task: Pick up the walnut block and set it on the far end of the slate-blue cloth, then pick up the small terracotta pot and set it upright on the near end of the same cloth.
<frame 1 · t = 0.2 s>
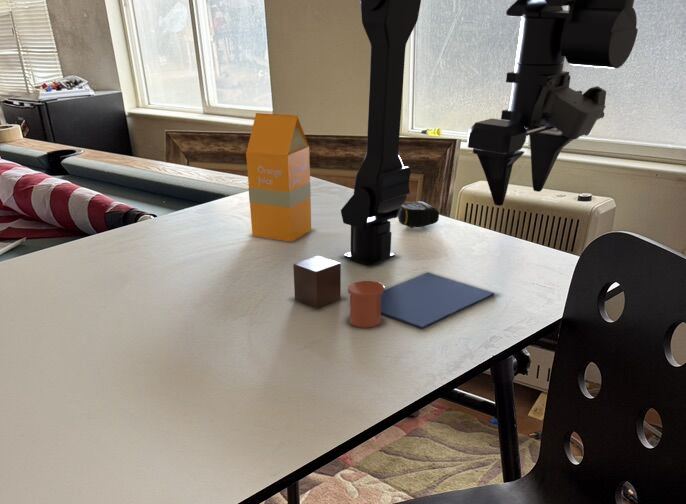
hand: (518, 197, 94), 14 cm above the table, tool pointing down, fingers open, 9 cm apart
cloth: (424, 299, 105), on the table
terracotta pot: (365, 321, 99), on the table
orange juice: (282, 234, 132), on the table
tape measure: (417, 225, 134), on the table
walnut block: (317, 299, 106), on the table
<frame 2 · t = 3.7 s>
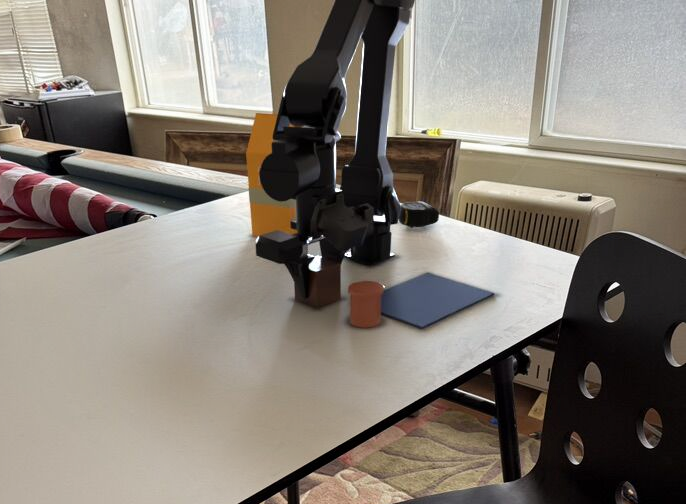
hand: (317, 292, 105), 1 cm above the table, tool pointing down, fingers closed on walnut block, 5 cm apart
walnut block: (317, 299, 106), on the table, touching gripper
everything else where it was.
when the fingers open (1 cm above the table, at t = 9.2 s): walnut block stays where it is, resting on cloth.
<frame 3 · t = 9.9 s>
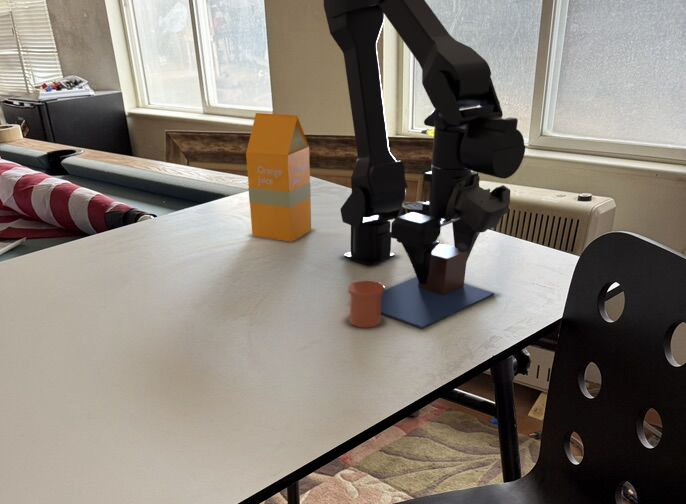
hand: (442, 275, 106), 2 cm above the table, tool pointing down, fingers open, 9 cm apart
walnut block: (440, 286, 107), resting on cloth
everything else where it was.
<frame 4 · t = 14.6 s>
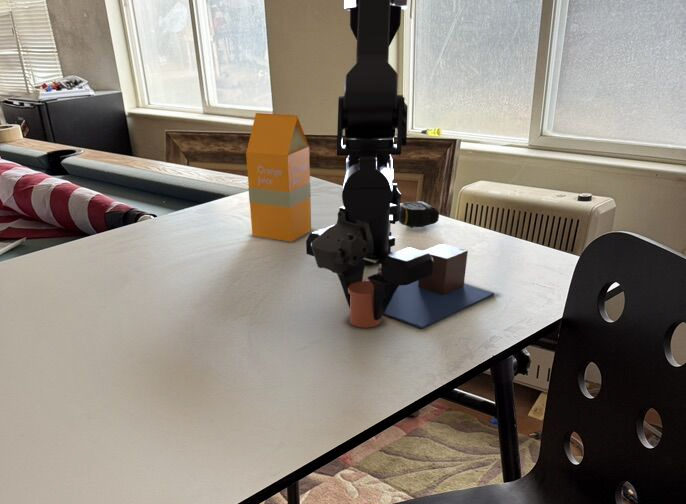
hand: (365, 314, 98), 1 cm above the table, tool pointing down, fingers closed on terracotta pot, 4 cm apart
terracotta pot: (365, 321, 99), on the table, touching gripper
everything else where it was.
when the fingers open (1 cm above the table, at t = 19.2 s): terracotta pot stays where it is, resting on cloth.
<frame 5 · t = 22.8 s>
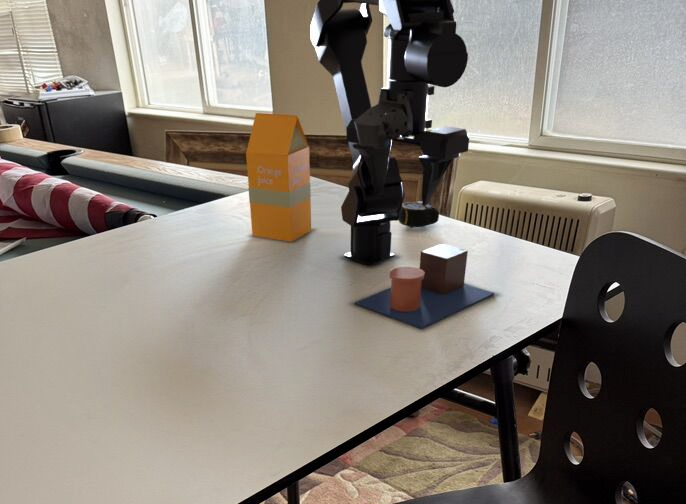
hand: (401, 199, 104), 12 cm above the table, tool pointing down, fingers open, 9 cm apart
terracotta pot: (405, 306, 102), resting on cloth
everything else where it was.
at the end: walnut block inside the target area on the cloth (5.1 cm from its centre), point 0.3 cm above the cloth's base; terracotta pot inside the target area on the cloth (4.5 cm from its centre), point 0.3 cm above the cloth's base; terracotta pot tilted 0° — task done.
